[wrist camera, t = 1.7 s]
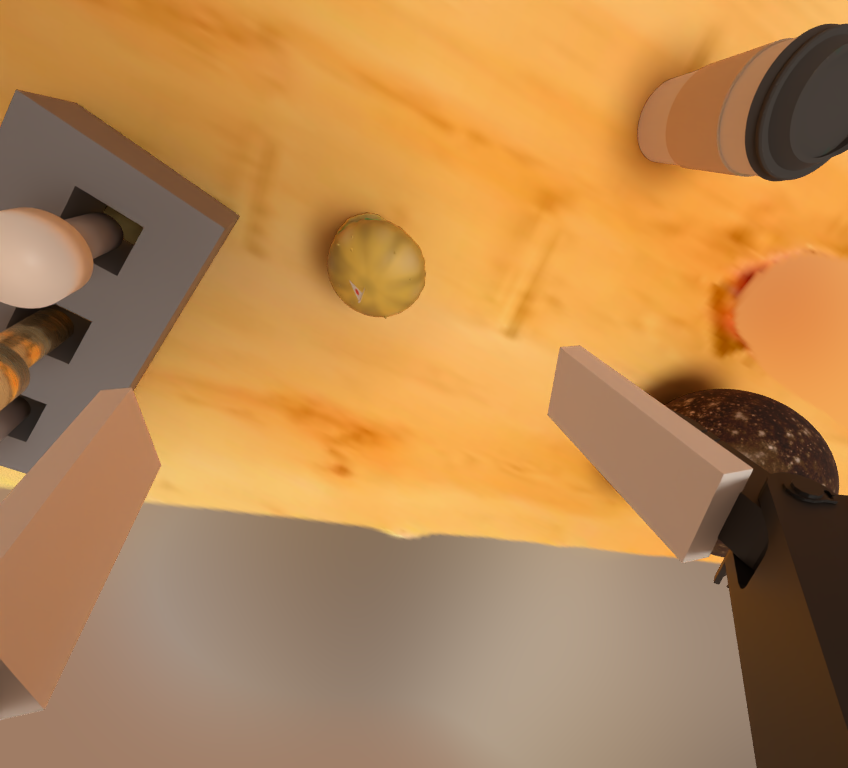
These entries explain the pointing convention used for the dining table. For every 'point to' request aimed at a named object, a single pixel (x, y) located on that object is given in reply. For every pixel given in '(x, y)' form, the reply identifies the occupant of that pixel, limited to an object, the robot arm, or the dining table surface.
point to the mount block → (101, 257)
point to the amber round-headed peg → (29, 349)
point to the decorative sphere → (761, 435)
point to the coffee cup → (756, 110)
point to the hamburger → (375, 266)
